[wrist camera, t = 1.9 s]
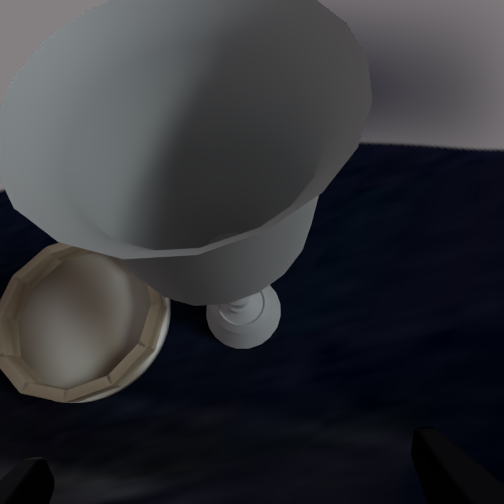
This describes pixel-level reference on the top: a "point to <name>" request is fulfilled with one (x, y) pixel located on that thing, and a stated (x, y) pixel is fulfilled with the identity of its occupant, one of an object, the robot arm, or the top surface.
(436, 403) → the top surface
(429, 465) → the robot arm
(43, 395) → the rimmed bowl
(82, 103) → the chalice
